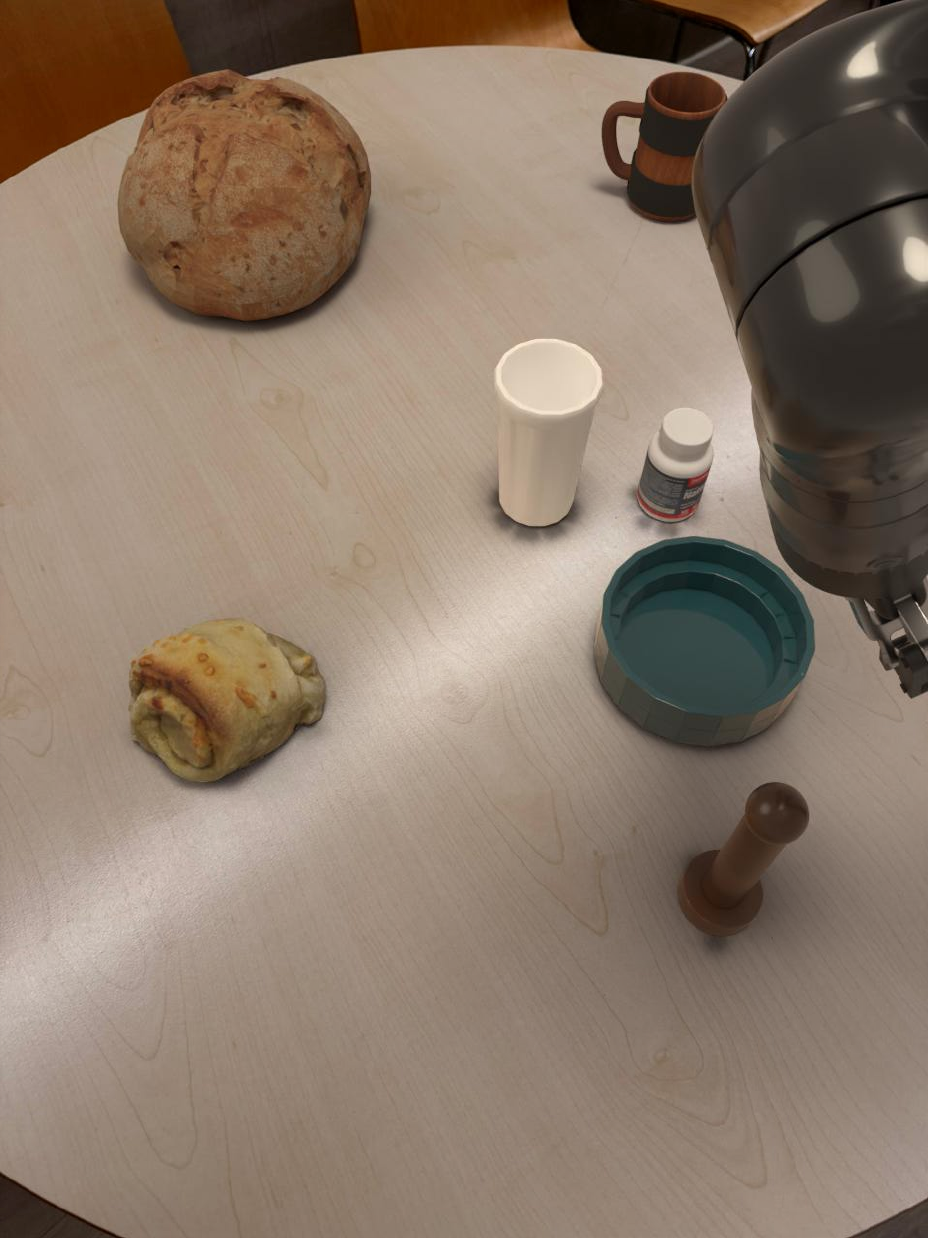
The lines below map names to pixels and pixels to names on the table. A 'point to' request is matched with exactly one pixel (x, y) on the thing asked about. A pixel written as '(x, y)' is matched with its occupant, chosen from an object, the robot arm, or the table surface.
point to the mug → (664, 142)
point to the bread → (244, 195)
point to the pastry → (221, 697)
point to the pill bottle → (677, 465)
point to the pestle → (742, 861)
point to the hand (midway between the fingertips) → (861, 588)
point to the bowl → (702, 640)
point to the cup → (543, 426)
